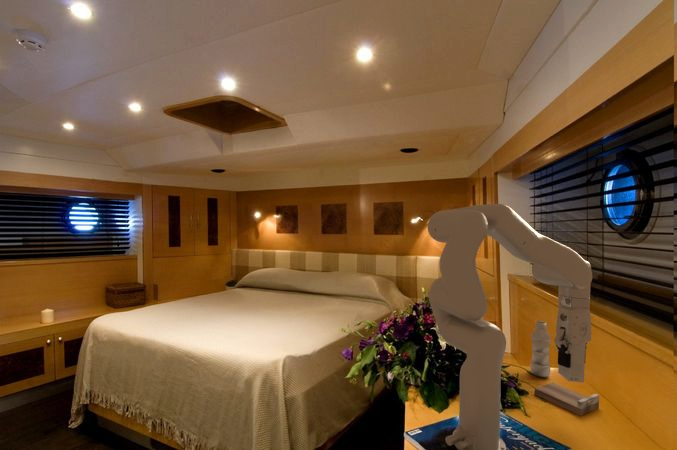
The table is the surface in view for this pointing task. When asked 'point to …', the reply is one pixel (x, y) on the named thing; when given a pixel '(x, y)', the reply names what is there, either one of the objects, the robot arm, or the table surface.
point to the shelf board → (568, 398)
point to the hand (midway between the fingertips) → (571, 363)
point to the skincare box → (575, 363)
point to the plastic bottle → (540, 350)
